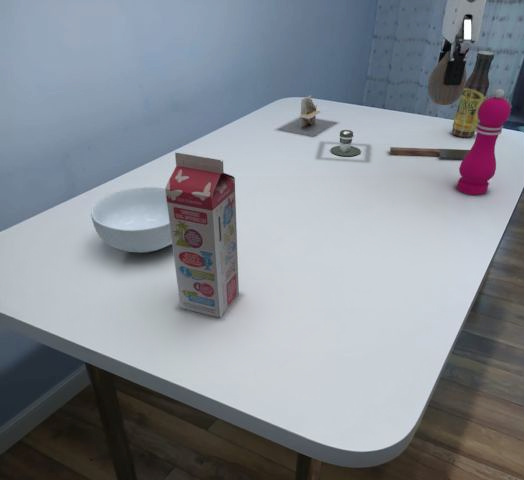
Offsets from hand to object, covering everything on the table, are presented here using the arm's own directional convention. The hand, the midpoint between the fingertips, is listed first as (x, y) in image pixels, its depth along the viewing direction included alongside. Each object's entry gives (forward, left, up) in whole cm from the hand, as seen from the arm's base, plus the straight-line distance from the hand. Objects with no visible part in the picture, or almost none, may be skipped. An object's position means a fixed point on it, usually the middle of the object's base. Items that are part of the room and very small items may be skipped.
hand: (447, 79), depth 96 cm
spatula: (-5, -20, -21) cm, 30 cm away
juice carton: (+39, +49, -21) cm, 66 cm away
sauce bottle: (-16, -37, -21) cm, 46 cm away
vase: (0, 0, -4) cm, 4 cm away
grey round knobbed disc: (+17, -20, -21) cm, 34 cm away
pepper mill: (-10, +1, -21) cm, 24 cm away
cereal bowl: (+54, +32, -21) cm, 66 cm away
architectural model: (+27, -40, -21) cm, 53 cm away
